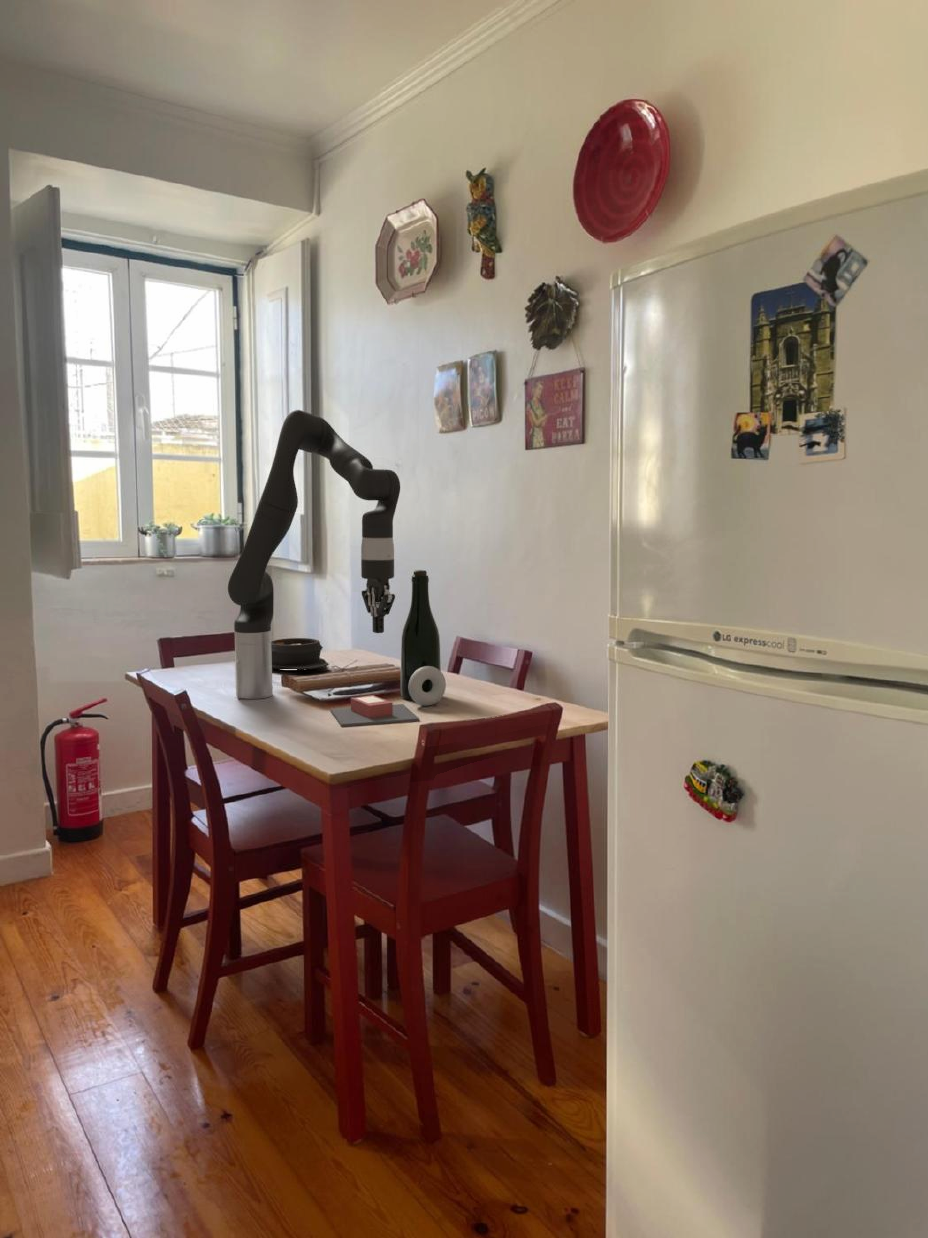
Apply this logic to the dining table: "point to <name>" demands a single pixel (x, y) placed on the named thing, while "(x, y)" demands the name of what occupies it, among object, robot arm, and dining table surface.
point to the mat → (355, 719)
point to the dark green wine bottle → (419, 636)
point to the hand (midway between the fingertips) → (378, 632)
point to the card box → (371, 706)
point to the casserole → (297, 654)
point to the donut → (418, 680)
